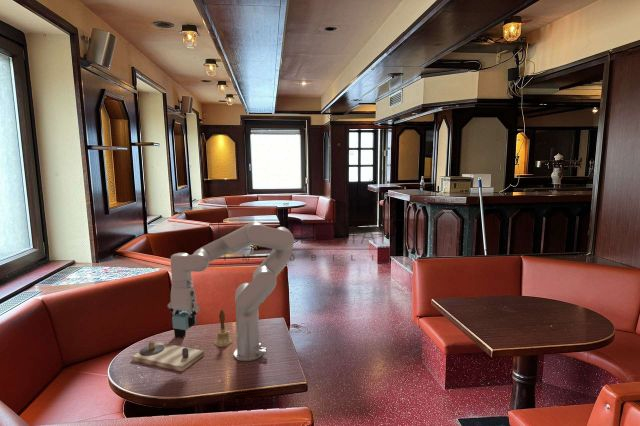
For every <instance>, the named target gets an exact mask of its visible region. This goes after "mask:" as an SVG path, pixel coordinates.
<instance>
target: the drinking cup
mask: <svg viewBox="0 0 640 426" xmlns="http://www.w3.org/2000/svg"><path fill="white" fill-rule="evenodd" d="M169 311H170V310H169ZM180 312H182V311H179V313H180ZM170 314H171V317H172V316H174V315H172V312H171V311H170ZM186 332H187V330H181V329H175V328H173V333H174V338H176V339H183V338H185V337H186V334H187V333H186Z"/></svg>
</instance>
